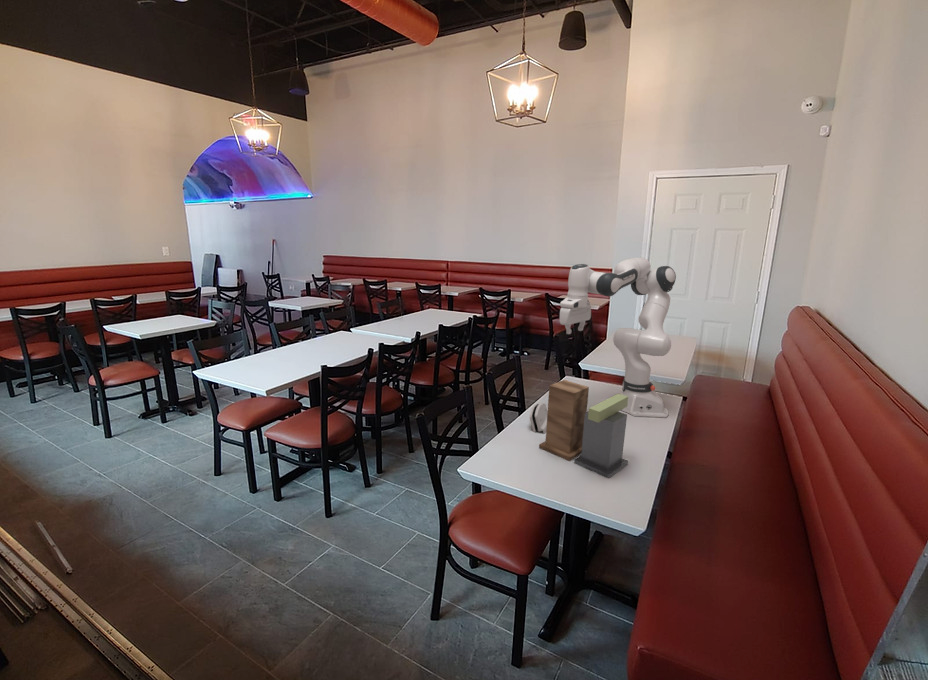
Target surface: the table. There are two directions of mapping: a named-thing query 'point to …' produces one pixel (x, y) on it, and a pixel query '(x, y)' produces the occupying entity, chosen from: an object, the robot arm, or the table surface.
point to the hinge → (539, 417)
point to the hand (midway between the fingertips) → (574, 332)
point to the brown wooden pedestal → (565, 419)
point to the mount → (603, 445)
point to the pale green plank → (607, 408)
